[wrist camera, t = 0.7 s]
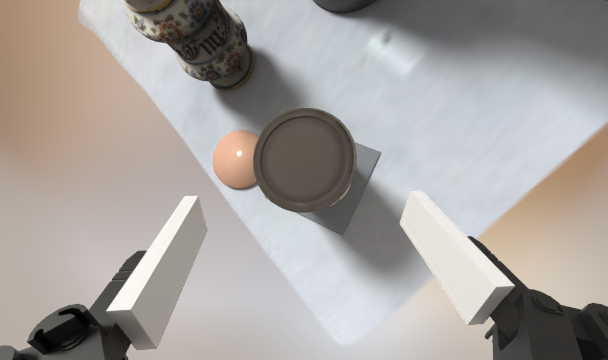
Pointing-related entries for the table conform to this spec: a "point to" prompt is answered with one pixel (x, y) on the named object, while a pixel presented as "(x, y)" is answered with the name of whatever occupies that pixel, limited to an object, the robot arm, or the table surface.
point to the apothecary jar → (198, 37)
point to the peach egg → (235, 159)
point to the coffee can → (305, 160)
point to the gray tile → (342, 211)
